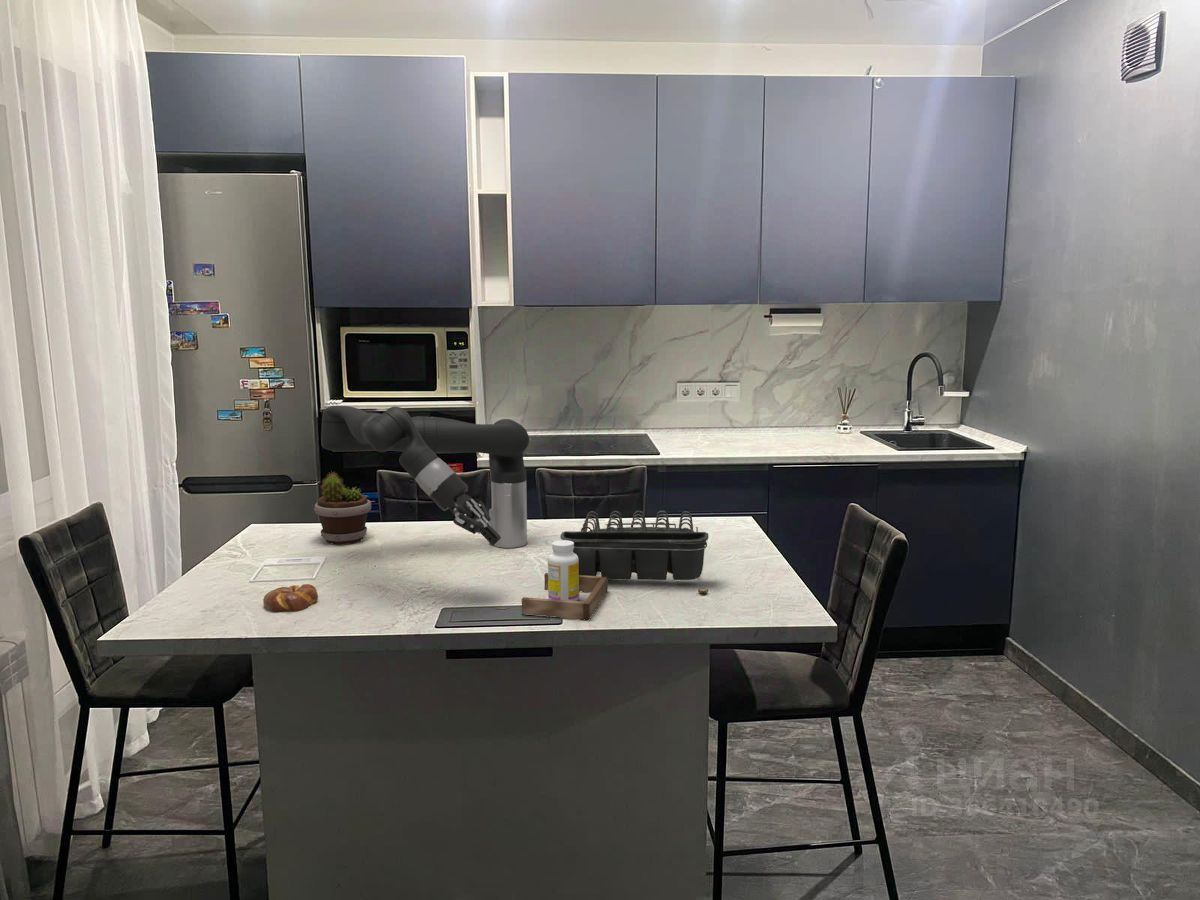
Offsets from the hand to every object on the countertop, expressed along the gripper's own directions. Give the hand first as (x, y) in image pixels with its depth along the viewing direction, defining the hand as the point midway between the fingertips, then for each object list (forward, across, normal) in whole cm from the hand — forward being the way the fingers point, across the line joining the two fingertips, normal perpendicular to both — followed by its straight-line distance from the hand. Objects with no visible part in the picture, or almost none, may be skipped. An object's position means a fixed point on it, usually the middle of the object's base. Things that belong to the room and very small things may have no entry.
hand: (497, 541), depth 191 cm
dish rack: (+27, -36, +7) cm, 46 cm away
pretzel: (-21, +13, -39) cm, 46 cm away
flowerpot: (-31, -36, -50) cm, 69 cm away
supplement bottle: (+19, -3, 0) cm, 19 cm away
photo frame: (-31, -9, -49) cm, 59 cm away
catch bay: (+19, -1, +1) cm, 19 cm away
